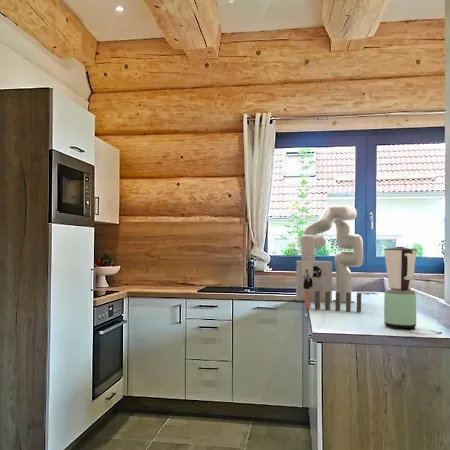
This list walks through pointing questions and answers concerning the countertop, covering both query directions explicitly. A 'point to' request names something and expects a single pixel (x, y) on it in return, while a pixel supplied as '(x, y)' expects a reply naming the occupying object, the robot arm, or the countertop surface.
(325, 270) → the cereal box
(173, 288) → the countertop surface
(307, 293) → the domino
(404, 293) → the juicer
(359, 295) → the domino
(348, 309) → the domino
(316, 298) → the domino
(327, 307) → the domino
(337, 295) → the domino
